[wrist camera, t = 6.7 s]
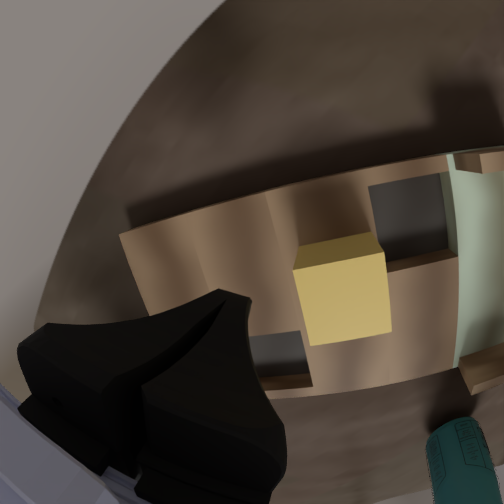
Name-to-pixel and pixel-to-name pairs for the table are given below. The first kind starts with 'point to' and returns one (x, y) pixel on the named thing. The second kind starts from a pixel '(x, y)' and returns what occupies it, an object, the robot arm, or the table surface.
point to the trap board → (338, 226)
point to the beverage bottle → (461, 464)
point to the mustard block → (343, 289)
